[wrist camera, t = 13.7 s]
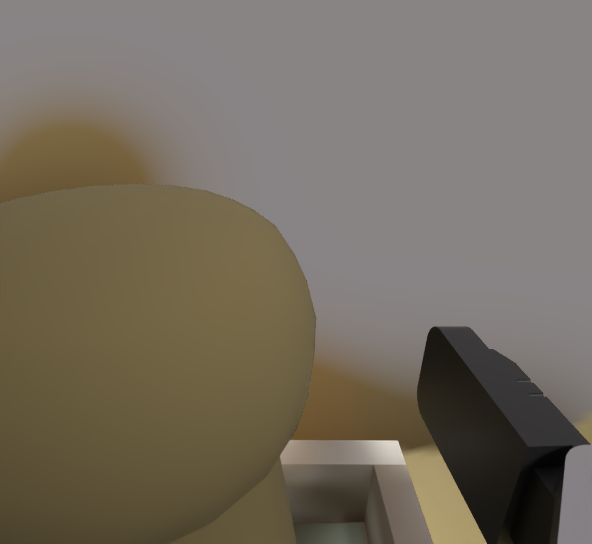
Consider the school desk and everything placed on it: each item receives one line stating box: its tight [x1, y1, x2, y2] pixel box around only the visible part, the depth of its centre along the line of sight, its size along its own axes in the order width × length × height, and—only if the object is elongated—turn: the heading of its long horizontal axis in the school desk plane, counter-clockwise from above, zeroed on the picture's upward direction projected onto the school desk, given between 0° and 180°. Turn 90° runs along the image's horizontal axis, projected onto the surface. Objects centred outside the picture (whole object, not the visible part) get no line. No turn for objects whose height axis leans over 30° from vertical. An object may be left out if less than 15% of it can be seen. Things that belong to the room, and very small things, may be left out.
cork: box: [0, 184, 316, 544], centre depth 8 cm, size 6×6×11 cm
